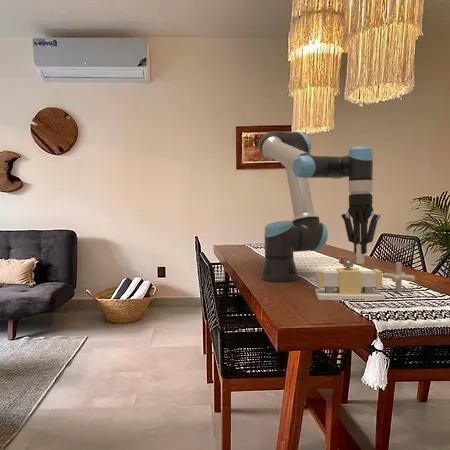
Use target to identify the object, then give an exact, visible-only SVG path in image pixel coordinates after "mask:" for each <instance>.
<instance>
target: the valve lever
mask: <svg viewBox="0 0 450 450" xmlns="http://www.w3.org/2000/svg"><path fill="white" fill-rule="evenodd" d="M338 263H339V264H340V265H343V268H346V267H350V268H354V260H351V259H350V257H349V256H347V255H339V256H338Z"/></svg>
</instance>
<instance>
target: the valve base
mask: <svg viewBox="0 0 450 450" xmlns="http://www.w3.org/2000/svg"><path fill="white" fill-rule="evenodd" d="M315 274H316V275H315V277H316V278H315V279H316V280H315V281H316V283H315V284H316V286H317V288H315V296H316V297H317V300H318V301H342V300H341V299H368V300H367V301H370V300H384V301H385V294H383V293H382V292H381V291H380V290H383V271H382V270H381V269H379V268H372V270H359V269H358V268H357V267H336V270H323V269H322V268H316V270H315ZM335 287H336V288H335Z"/></svg>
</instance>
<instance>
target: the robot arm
mask: <svg viewBox="0 0 450 450" xmlns="http://www.w3.org/2000/svg"><path fill="white" fill-rule="evenodd" d="M257 146H258V151H259V153H260V155H262V157H265V158H266V159H268V160H275V161H277V162H278V163H281V165H282V166H284V167H285V171H286V177H287V183H288V189H289V190H288V191H289V194H290V201H291V206H292V212H293V219H292V220H283V221H282V220H281V221H275V222H270V223H267V224H266V225H265V226H264V261H263V265H262V269H261V272H260V278H261V280H263V281H268V282H283V283H284V282H293V281H297V280H298V279H299V272H298V269H297V266H296V263H295V259H294V258H295V257H294V253H296V252H299V253H300V252H309V251H310V252H314V251H319V250H322V249H323V248H324V247H325V246H326V243H327V241H328V236H329V234H328V233H329V231H328V228H327V226H326V225H325V223H324V222H321V221H320V216H318V215H316V214H315V210H314V205H313V199H312V194H311V188H310V183H309V179H311V178H312V179H317V178H318V179H320V178H323V179H325V178H326V179H329V178H330V179H339V180H340V179H344V178H348V193H350V194H349V195H348V209H347V212H344V213H342V214H341V218H342V219H343V221H344V227H345V231H346V234H347V239H348V242H351V243H352V244H353V250H354V251H353V252H354V254H356V261H355V262H356V264H359V265H362V264H365V254H367V253H368V249H367V248H368V244H369V243H370V244H371V243H373V241H374V236H375V234H376V228H377V226H378V225H377V224H378V221H379V220H380V218H381V214H379V213H376V212H375V211H374V208H373V195H372V194H371V193H372V192H373V170H374V169H373V168H374V163H373V162H374V161H373V160H374V158H373V148H372V147H370V146H359V145H358V146H352V147H350V148H349V149H348V153H347V154H348V155H343V156H332V155H331V156H329V155H326V156H324V155H323V156H320V155H313V154H311V149H312V144H311V140H310V138H309V136H308V135H307V134H305V133H304V132H298V131H280V130H278V131H277V130H275V131H274V130H272V131H268V132H266V133H265V134H263V135H262V136H261V137H260V139H259V141H258V145H257ZM351 219H352V220H351ZM369 219H370V222H369ZM368 223H369V226H368Z"/></svg>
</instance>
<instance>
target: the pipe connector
mask: <svg viewBox="0 0 450 450" xmlns="http://www.w3.org/2000/svg"><path fill="white" fill-rule="evenodd" d="M402 267H403V264H402V262H399V261H397V262H395V273H392V272H391V273H389V272H382V279H391V281H392V282H393V283H395V292H396V293H402V283H403V282H402V281H410V282H415V281H416V275H412V274H406V273H405V272H402V269H403V268H402Z"/></svg>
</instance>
